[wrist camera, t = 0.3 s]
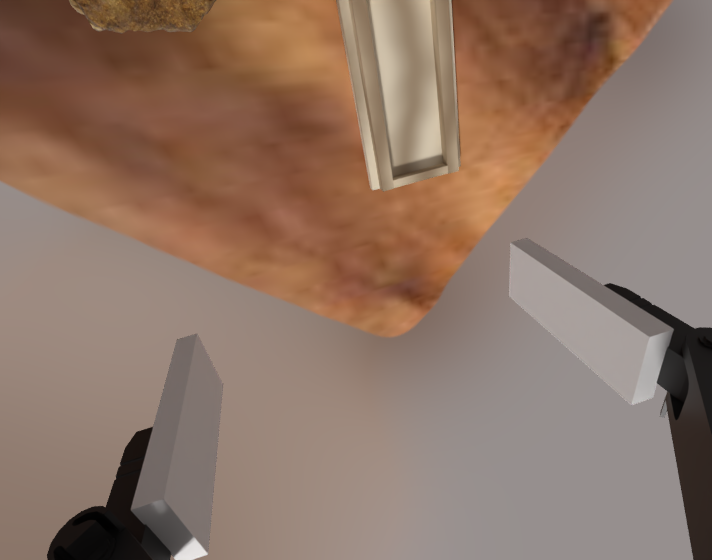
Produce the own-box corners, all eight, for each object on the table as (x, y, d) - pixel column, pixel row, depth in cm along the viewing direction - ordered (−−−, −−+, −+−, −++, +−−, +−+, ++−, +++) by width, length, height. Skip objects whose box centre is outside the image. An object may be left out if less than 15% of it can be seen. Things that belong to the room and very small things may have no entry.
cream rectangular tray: (370, 187, 42) (375, 193, 40) (335, -4, 33) (340, -9, 31) (456, 164, 43) (465, 168, 41) (444, -28, 34) (455, -33, 32)
